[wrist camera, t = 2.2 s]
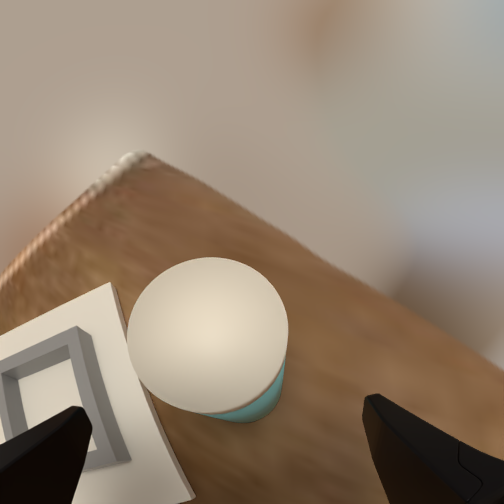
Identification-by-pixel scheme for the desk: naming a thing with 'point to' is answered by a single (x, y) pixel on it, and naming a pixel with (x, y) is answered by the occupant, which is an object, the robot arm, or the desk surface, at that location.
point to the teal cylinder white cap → (211, 339)
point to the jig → (91, 399)
